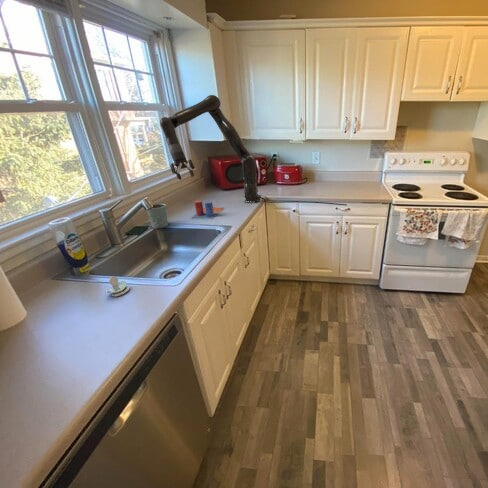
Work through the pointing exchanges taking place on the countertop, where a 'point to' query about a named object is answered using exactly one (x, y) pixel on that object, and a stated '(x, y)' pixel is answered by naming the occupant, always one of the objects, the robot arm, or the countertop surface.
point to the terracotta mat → (215, 209)
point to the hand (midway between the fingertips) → (186, 178)
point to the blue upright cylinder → (209, 209)
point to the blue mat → (204, 216)
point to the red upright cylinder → (199, 208)
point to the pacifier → (117, 287)
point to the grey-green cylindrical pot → (158, 216)
